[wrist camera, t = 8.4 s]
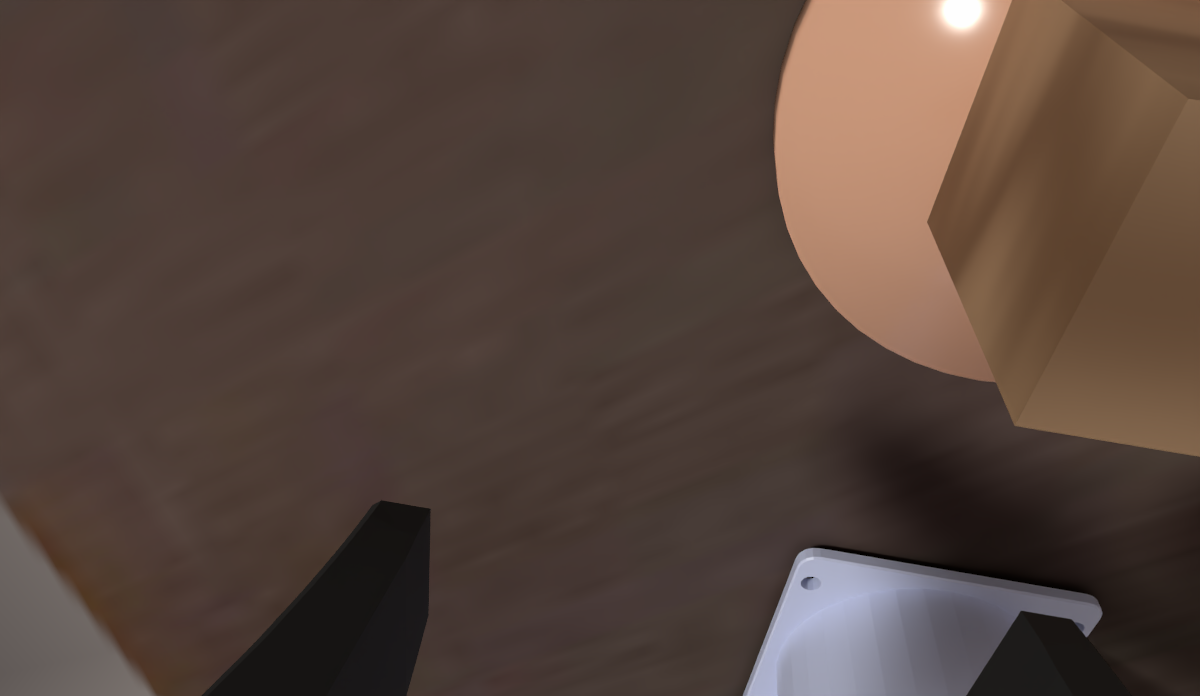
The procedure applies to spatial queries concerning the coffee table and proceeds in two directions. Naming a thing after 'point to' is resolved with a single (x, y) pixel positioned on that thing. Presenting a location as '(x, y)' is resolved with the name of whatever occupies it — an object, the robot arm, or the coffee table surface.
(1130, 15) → the block
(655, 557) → the coffee table surface
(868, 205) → the peach flat disc
